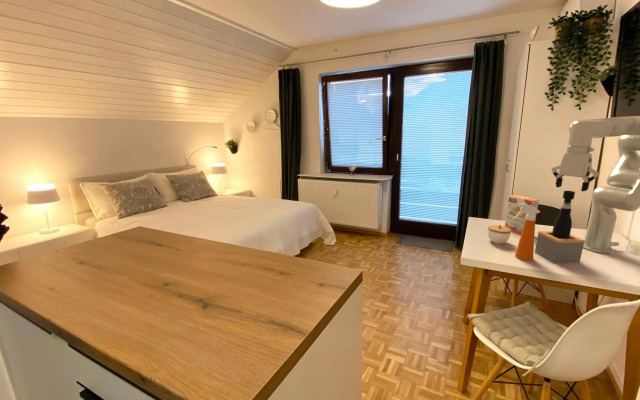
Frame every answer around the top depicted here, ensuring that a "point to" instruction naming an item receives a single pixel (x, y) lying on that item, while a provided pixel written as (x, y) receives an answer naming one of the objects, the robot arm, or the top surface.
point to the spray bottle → (527, 233)
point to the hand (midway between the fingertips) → (570, 188)
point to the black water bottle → (564, 218)
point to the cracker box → (514, 209)
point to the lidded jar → (498, 234)
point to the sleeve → (559, 248)
